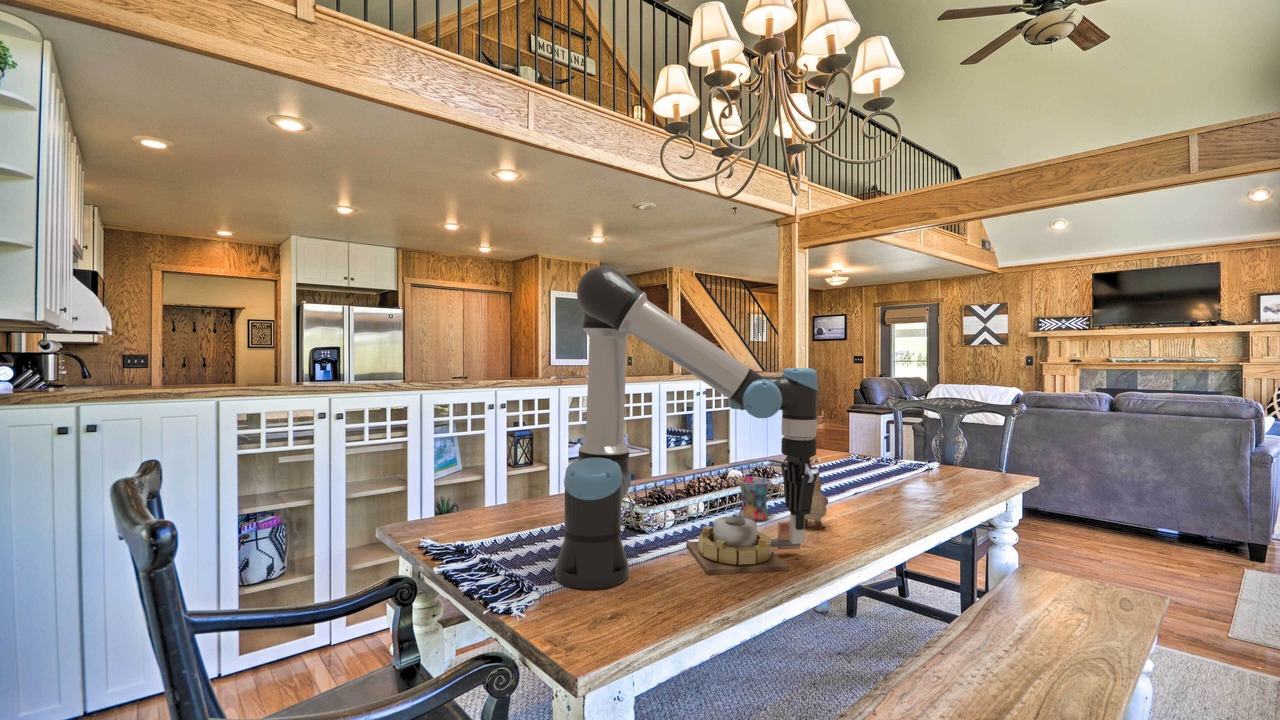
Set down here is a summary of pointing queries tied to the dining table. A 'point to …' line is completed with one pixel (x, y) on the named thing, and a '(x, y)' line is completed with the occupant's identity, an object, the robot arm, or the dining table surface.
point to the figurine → (817, 506)
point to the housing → (736, 535)
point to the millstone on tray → (744, 554)
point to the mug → (754, 497)
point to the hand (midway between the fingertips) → (796, 542)
